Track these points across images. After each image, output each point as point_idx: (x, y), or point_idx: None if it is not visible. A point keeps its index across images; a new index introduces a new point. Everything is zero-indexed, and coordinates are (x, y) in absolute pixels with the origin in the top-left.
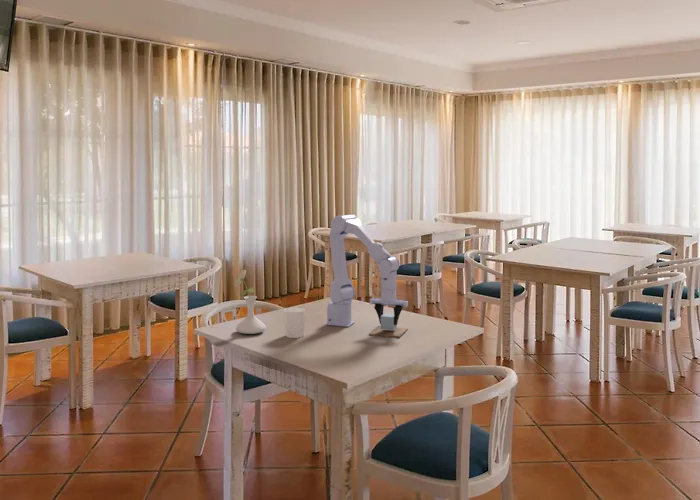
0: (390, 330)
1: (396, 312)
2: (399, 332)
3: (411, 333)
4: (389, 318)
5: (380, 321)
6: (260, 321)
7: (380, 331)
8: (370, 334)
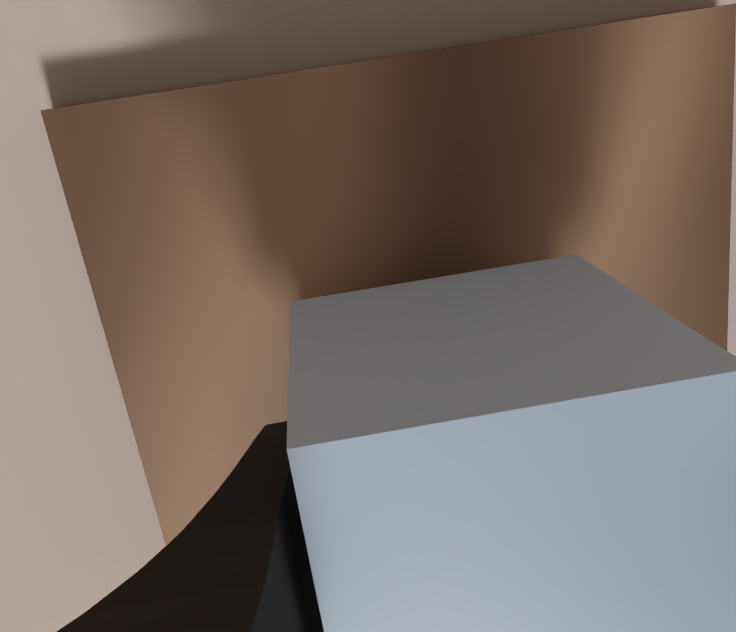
0: None
1: (139, 617)
2: (203, 387)
3: (38, 510)
4: (419, 402)
5: None
6: None
7: None
8: (690, 12)
